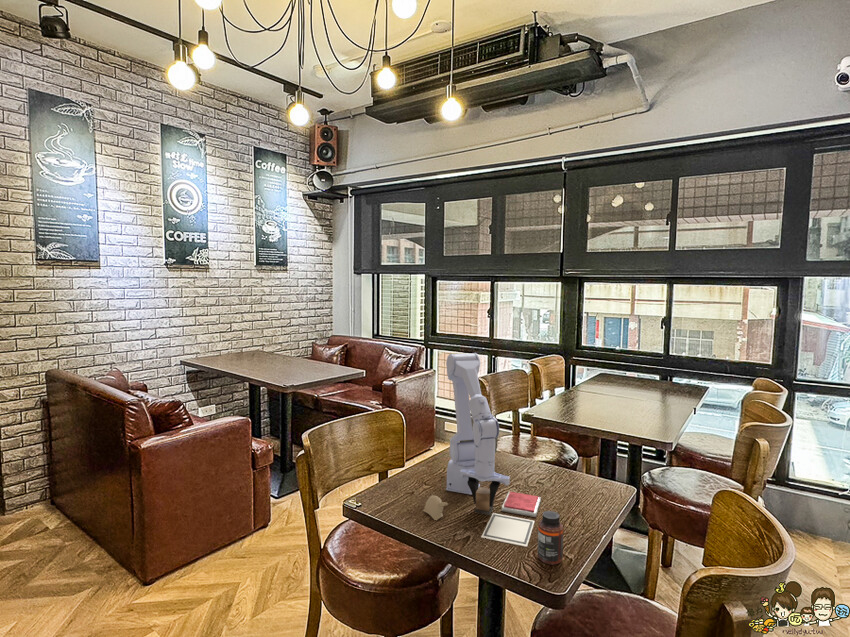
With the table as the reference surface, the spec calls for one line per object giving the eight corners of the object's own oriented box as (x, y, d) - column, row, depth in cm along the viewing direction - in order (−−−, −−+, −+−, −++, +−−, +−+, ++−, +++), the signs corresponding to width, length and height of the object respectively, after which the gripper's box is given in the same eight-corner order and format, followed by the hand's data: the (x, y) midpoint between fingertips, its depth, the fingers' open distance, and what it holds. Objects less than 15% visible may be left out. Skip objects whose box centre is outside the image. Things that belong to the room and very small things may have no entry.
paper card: (481, 537, 127) (481, 536, 127) (492, 513, 140) (492, 512, 140) (527, 547, 123) (527, 546, 123) (534, 521, 136) (534, 520, 136)
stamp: (474, 512, 141) (474, 492, 140) (478, 505, 145) (478, 486, 145) (489, 515, 139) (490, 495, 139) (493, 508, 144) (493, 488, 143)
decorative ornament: (434, 507, 144) (434, 490, 143) (449, 519, 137) (450, 501, 136) (422, 510, 142) (422, 493, 141) (437, 523, 135) (437, 505, 134)
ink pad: (501, 511, 142) (501, 505, 142) (508, 495, 152) (508, 490, 152) (535, 517, 138) (536, 512, 138) (540, 500, 149) (540, 495, 149)
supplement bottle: (556, 551, 122) (558, 508, 121) (566, 565, 116) (568, 519, 115) (533, 552, 121) (535, 509, 120) (542, 566, 115) (544, 521, 114)
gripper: (457, 460, 140) (456, 505, 141) (506, 468, 135) (505, 514, 136) (463, 452, 146) (463, 495, 148) (511, 459, 141) (510, 503, 142)
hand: (483, 503), depth 142 cm, fingers closed on stamp, 4 cm apart
